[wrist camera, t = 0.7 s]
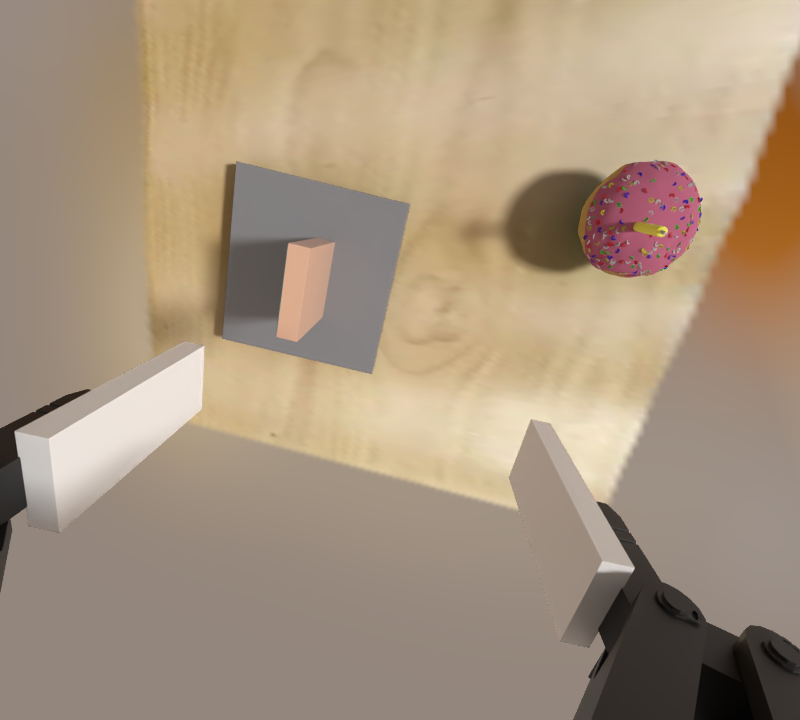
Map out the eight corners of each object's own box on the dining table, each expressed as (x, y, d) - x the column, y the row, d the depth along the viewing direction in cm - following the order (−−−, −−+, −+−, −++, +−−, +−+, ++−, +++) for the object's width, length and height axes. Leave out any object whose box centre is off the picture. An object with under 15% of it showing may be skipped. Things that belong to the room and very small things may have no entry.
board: (243, 163, 35) (236, 161, 34) (410, 204, 35) (409, 204, 34) (229, 334, 40) (222, 338, 39) (373, 368, 41) (371, 374, 39)
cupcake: (571, 283, 37) (636, 311, 25) (552, 188, 34) (615, 173, 23) (669, 252, 35) (784, 268, 24) (657, 151, 33) (779, 116, 22)
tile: (315, 237, 35) (286, 242, 28) (335, 241, 35) (310, 248, 28) (304, 312, 38) (274, 336, 30) (322, 317, 38) (297, 341, 30)
